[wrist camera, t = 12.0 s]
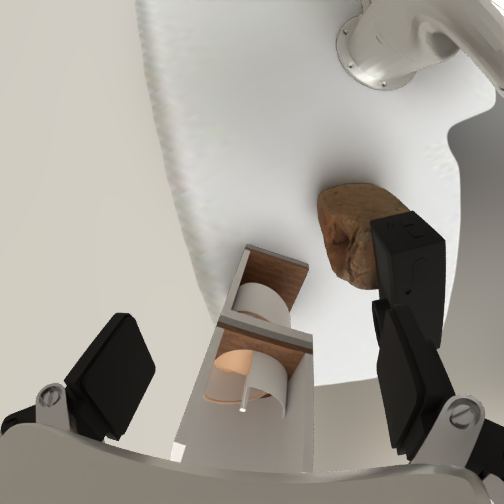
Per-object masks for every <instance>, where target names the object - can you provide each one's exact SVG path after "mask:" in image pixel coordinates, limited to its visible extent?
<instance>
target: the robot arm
mask: <svg viewBox="0 0 504 504" xmlns="http://www.w3.org/2000/svg"><path fill="white" fill-rule="evenodd" d="M361 3H362V7H363V10H364V12H362V13H361V14H360V15H359V16H356V17H353V18H351V19H350V20H348V21H347V22H346V23H345V24H344V25H343V27H342V28H341V30H340V32H339V34H338V37H337V53H338V56H339V59H340V61H341V63H342V65H343V67H344V68H345V69H346V71H347V72H348V73H349V74H350V75H351V76H352V77H353V78H354V79H355V80H357V81H358V82H360V83H361V84H363V85H365V86H367V87H369V88H372V89H376V90H383V91H387V90H394V89H398V88H401V87H403V86H405V85H406V84H407V83H409V82H410V81H411V80H412V78H413V77H414V75H415V74H416V71H417V70H420V69H423V68H426V67H429V66H432V65H435V64H438V63H441V62H444V61H446V60H448V59H450V58H452V57H453V56H454V55H455V54H456V53H457V52H458V51H459V50H460V49H461V50H462V51H463V52H464V53H465V54H466V55H467V56H468V57H470V58H471V59H472V61H473V62H474V63H475V64H476V65H477V66H478V67H479V69H480V70H481V71H482V72H483V73H484V75H485V76H486V77H487V78H488V79H489V81H490V82H491V83H492V84H493V86H494V87H495V88H496V90H497V91H498V92H499V93H500V95H501V96H502V97H503V99H504V0H373V2H372V3H370V0H361ZM344 32H345V33H346V35H345V34H343V33H344ZM348 65H350V66H351V68H349V67H348ZM382 84H383V85H384V87H382ZM154 374H155V364H154V362H153V360H152V358H151V355H150V353H149V351H148V349H147V346H146V344H145V342H144V339H143V337H142V335H141V332H140V330H139V327H138V325H137V322H136V320H135V319H134V318H133V317H132V316H131V315H130V314H129V313H116V314H115V315H113V317H112V318H111V319H110V320H109V322H108V323H107V324H106V325H105V327H104V328H103V329H102V330H101V332H100V333H99V334H98V335H97V337H96V338H95V339H94V341H93V342H92V343H91V344H90V346H89V347H88V348H87V350H86V351H85V352H84V354H83V355H82V356H81V358H80V359H79V360H78V362H77V363H76V364H75V366H74V367H73V368H72V370H71V371H70V372H69V374H68V375H67V376H66V378H65V379H64V382H65V383H66V385H67V386H66V388H64V387H63V386H62V385H61V384H59V383H53V384H49V385H47V386H45V387H44V388H43V389H41V391H40V392H39V393H38V395H37V397H36V405H33V406H31V407H28V408H26V409H23V410H21V411H18V412H15V413H13V414H11V415H9V416H7V417H6V418H5V419H4V421H3V423H2V426H1V430H0V504H491V501H490V499H491V500H492V501H493V502H494V503H495V504H504V427H503V426H501V425H499V424H496V423H494V422H492V421H490V420H487V419H485V410H484V407H483V405H482V403H481V402H480V401H479V400H478V399H477V398H475V397H473V396H471V395H467V394H459V395H455V392H454V390H453V387H452V385H451V382H450V380H449V377H448V375H447V373H446V370H445V368H444V366H443V363H442V361H441V359H440V357H439V354H438V352H437V350H436V348H435V346H434V344H433V342H432V340H431V339H430V338H424V336H423V334H422V332H421V330H420V328H419V325H418V323H417V321H416V319H415V317H414V315H413V313H412V311H411V309H410V307H409V305H408V304H397V305H392V306H391V308H390V310H386V313H385V320H384V326H383V332H382V339H381V344H380V350H379V355H378V360H377V375H378V379H379V384H380V389H381V394H382V398H383V403H384V408H385V413H386V419H387V424H388V430H389V435H390V441H391V446H392V448H397V454H398V455H403V454H406V456H407V460H409V461H410V462H409V464H407V465H396V466H387V467H379V468H369V469H361V470H350V471H336V472H315V473H270V472H251V471H239V470H228V469H220V468H212V467H204V466H198V465H192V464H186V463H180V462H175V461H170V460H165V459H161V458H156V457H152V456H148V455H143V454H140V453H136V452H132V451H129V450H125V449H121V448H118V447H115V446H111V445H109V444H105V441H104V437H105V435H106V436H107V437H108V438H110V439H113V440H116V441H119V439H120V437H121V435H123V434H125V432H126V430H127V428H128V426H129V424H130V422H131V420H132V418H133V416H134V414H135V412H136V410H137V408H138V406H139V404H140V401H141V400H142V397H143V396H144V394H145V392H146V390H147V387H148V385H149V384H150V382H151V380H152V378H153V376H154Z"/></svg>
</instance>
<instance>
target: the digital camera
mask: <svg viewBox="0 0 504 504" xmlns="http://www.w3.org/2000/svg"><path fill="white" fill-rule="evenodd" d="M370 228H371V235H372V241H373V248H374V255H375V262H376V270H377V279H378V288H379V298H380V299H379V300H375V301H372V313H373V321H374V327H375V332H376V337H377V341H378V345H379V348H380V344H381V339H382V332H383V326H384V320H385V313H386V310H390V308H391V306H392V305H397V304H408V305H409V307H410V309H411V311H412V313H413V315H414V317H415V319H416V321H417V323H418V325H419V328H420V330H421V332H422V334H423V336H424V338H430V339H431V340H432V342H433V344H434V346H435V348H436V349H438V348H440V343H441V336H442V327H443V317H444V303H445V283H446V244H445V239H444V238H443V237H442V236H441V235H440V234H439V233H437V232H436V231H435V230H434V229H433V228H432V227H431V226H430V225H429V224H428V223H427V222H425V221H424V220H423V219H422V218H421V217H420V216H419V215H417V214H416V213H415V212H414V211H409V212H404V213H400V214H396V215H391V216H387V217H383V218H378V219H374V220H371V221H370Z"/></svg>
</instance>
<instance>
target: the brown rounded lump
mask: <svg viewBox="0 0 504 504" xmlns="http://www.w3.org/2000/svg"><path fill="white" fill-rule="evenodd" d="M317 209H318V219H319V224H320V227H321V231H322V233H323V238H324V243H325V248H326V250H327V255H328V258H329V261H330V264H331V267H332V270H333V271H334V272H335V273H336V275H337V277H339V278H341V279H343V280H346V281H348V282H349V283H350V284H351V285H353V286H355V287H356V288H359V289H365V290H374V289H379V288H378V279H377V270H376V262H375V255H374V248H373V241H372V235H371V228H370V221H371V220H374V219H378V218H383V217H387V216H391V215H396V214H400V213H404V212H409V211H410V210H409V209H408V208H407V207H406V206H405V205H404V204H403V203H402V202H401V201H400V200H399V199H397V198H396V197H395V196H394V195H392V194H391V193H390V192H388V191H387V190H386V189H384V188H381V187H377V186H374V185H373V184H366V183H351V184H344V185H340V186H335V187H332V188H328V190H326V191H323V192H322V193H321V194H320V195H319V197H318V204H317Z"/></svg>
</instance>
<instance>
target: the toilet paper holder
mask: <svg viewBox="0 0 504 504" xmlns="http://www.w3.org/2000/svg"><path fill="white" fill-rule="evenodd" d="M308 271H309V266H308V264H306V263H303V262H300V261H297V260H294V259H291V258H288V257H285V256H282V255H279V254H276V253H273V252H270V251H267V250H264V249H261V248H258V247H255V246H252V245H249V244H247V245H246V248H245V251H244V253H243V256H242V259H241V261H240V264H239V267H238V269H237V272H236V275H235V277H234V280H233V283H232V285H231V288H230V291H229V293H228V296H227V299H226V301H225V304H224V307H223V309H222V312H221V315H220V317H219V320H218V323H217V325H216V328H215V331H214V334H213V336H212V339H211V342H210V344H209V347H208V350H207V352H206V355H205V358H204V361H203V364H202V366H201V369H200V371H199V374H198V377H197V380H196V382H195V385H194V388H193V391H192V394H191V396H190V399H189V401H188V404H187V407H186V410H185V412H184V415H183V418H182V421H181V423H180V426H179V429H178V432H177V434H176V437H175V440H174V444H173V448H172V453H171V458H170V461H175V462H180V463H186V464H192V465H198V466H204V467H212V468H220V469H228V470H239V471H251V472H270V473H313V453H314V370H313V338H312V335H311V334H308V333H304V332H301V331H297V330H294V329H291V319H290V314H289V313H290V310H291V308H292V306H293V304H294V302H295V300H296V297H297V295H298V293H299V291H300V289H301V286H302V284H303V282H304V280H305V277H306V275H307V273H308Z"/></svg>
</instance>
